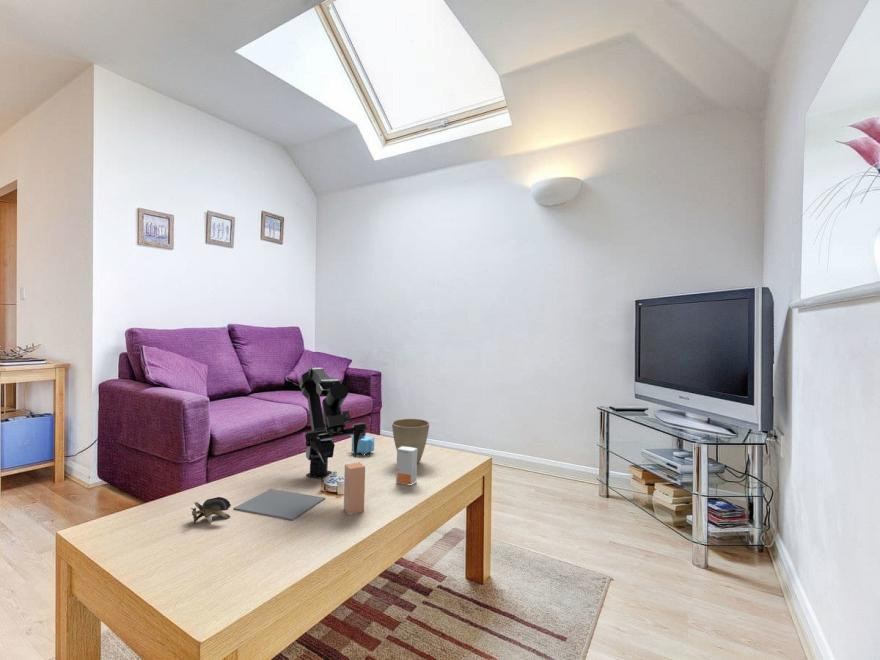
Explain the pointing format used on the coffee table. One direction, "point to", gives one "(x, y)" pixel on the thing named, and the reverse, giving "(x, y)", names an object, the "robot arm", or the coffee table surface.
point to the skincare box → (406, 465)
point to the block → (354, 487)
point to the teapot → (364, 445)
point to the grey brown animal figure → (211, 508)
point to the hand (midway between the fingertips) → (340, 460)
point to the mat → (280, 504)
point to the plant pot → (411, 434)
